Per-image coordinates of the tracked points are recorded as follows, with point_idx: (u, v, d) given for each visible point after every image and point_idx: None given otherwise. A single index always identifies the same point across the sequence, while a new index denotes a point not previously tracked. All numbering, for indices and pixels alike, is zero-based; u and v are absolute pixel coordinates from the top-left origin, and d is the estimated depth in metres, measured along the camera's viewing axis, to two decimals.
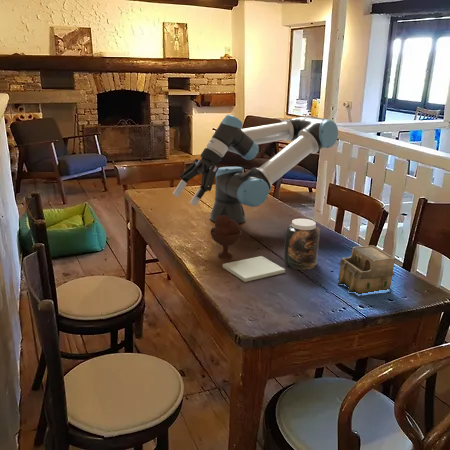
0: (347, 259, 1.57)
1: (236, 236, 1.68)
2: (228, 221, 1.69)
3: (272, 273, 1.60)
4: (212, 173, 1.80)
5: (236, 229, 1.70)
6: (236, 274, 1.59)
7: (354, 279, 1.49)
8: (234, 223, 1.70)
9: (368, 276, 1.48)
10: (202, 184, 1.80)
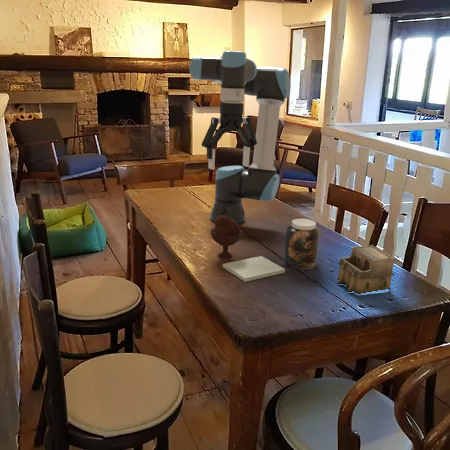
0: (346, 259, 1.57)
1: (236, 236, 1.68)
2: (228, 221, 1.69)
3: (272, 273, 1.60)
4: None
5: (236, 229, 1.70)
6: (236, 274, 1.59)
7: (353, 279, 1.49)
8: (234, 223, 1.70)
9: (367, 276, 1.48)
10: (249, 142, 1.65)
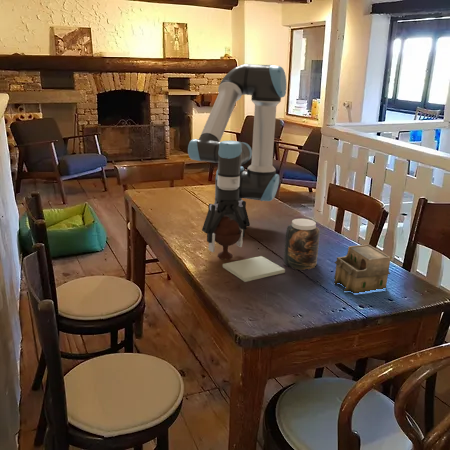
0: (343, 258, 1.57)
1: (236, 236, 1.68)
2: (228, 221, 1.69)
3: (272, 273, 1.60)
4: None
5: (236, 229, 1.70)
6: (236, 274, 1.59)
7: (350, 278, 1.50)
8: (234, 223, 1.70)
9: (364, 275, 1.48)
10: (243, 224, 1.74)
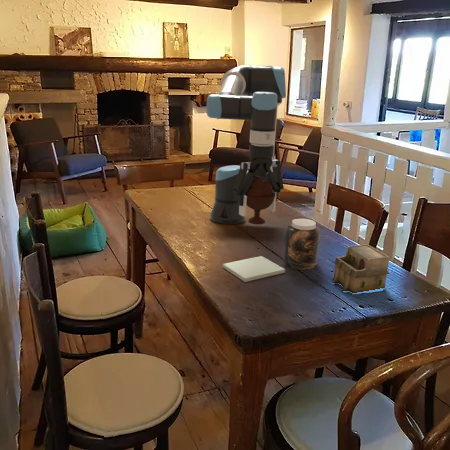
0: (342, 258, 1.57)
1: (270, 198, 1.53)
2: (261, 182, 1.53)
3: (272, 273, 1.60)
4: None
5: (270, 191, 1.54)
6: (236, 274, 1.59)
7: (349, 278, 1.50)
8: (267, 184, 1.54)
9: (363, 275, 1.48)
10: (276, 187, 1.58)
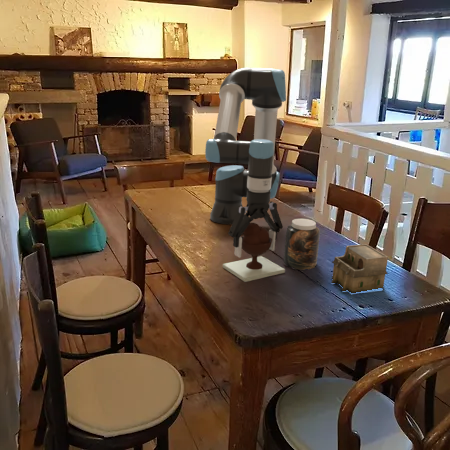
0: (340, 258, 1.58)
1: (267, 245, 1.58)
2: (258, 229, 1.58)
3: (272, 273, 1.60)
4: None
5: (266, 237, 1.59)
6: (236, 274, 1.59)
7: (347, 278, 1.50)
8: (264, 231, 1.59)
9: (361, 275, 1.48)
10: (275, 227, 1.63)
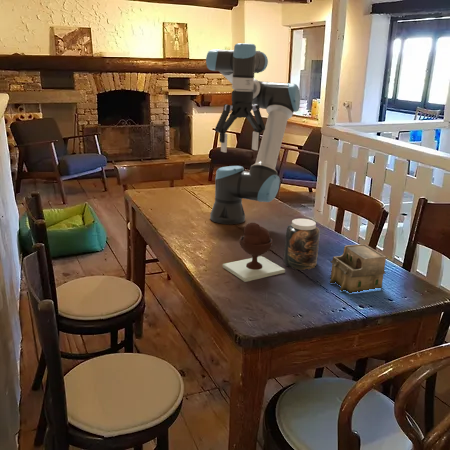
0: (339, 258, 1.58)
1: (267, 245, 1.58)
2: (258, 229, 1.58)
3: (272, 273, 1.60)
4: None
5: (267, 238, 1.59)
6: (236, 274, 1.59)
7: (346, 277, 1.50)
8: (265, 231, 1.59)
9: (359, 274, 1.48)
10: (258, 128, 1.80)
